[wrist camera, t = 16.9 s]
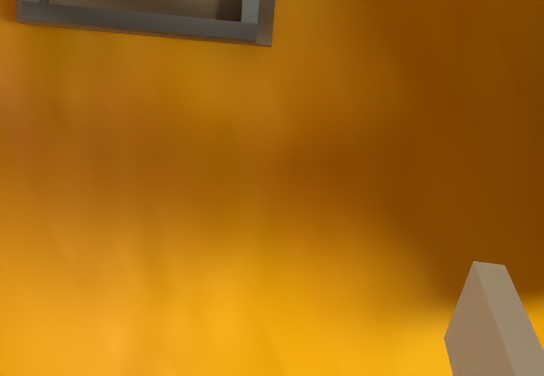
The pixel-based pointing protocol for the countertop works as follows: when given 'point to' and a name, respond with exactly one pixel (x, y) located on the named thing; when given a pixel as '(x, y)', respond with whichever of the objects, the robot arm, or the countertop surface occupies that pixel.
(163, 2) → the dock
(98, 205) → the countertop surface
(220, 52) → the countertop surface
